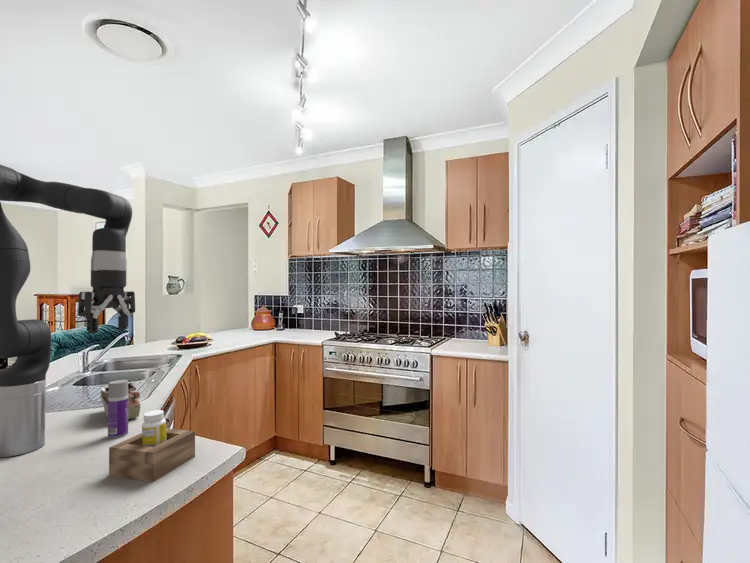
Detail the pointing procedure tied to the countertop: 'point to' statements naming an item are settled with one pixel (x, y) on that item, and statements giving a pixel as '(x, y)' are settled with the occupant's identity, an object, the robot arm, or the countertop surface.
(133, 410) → the decorative box
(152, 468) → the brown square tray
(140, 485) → the countertop surface
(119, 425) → the container
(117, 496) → the countertop surface
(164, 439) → the supplement bottle
